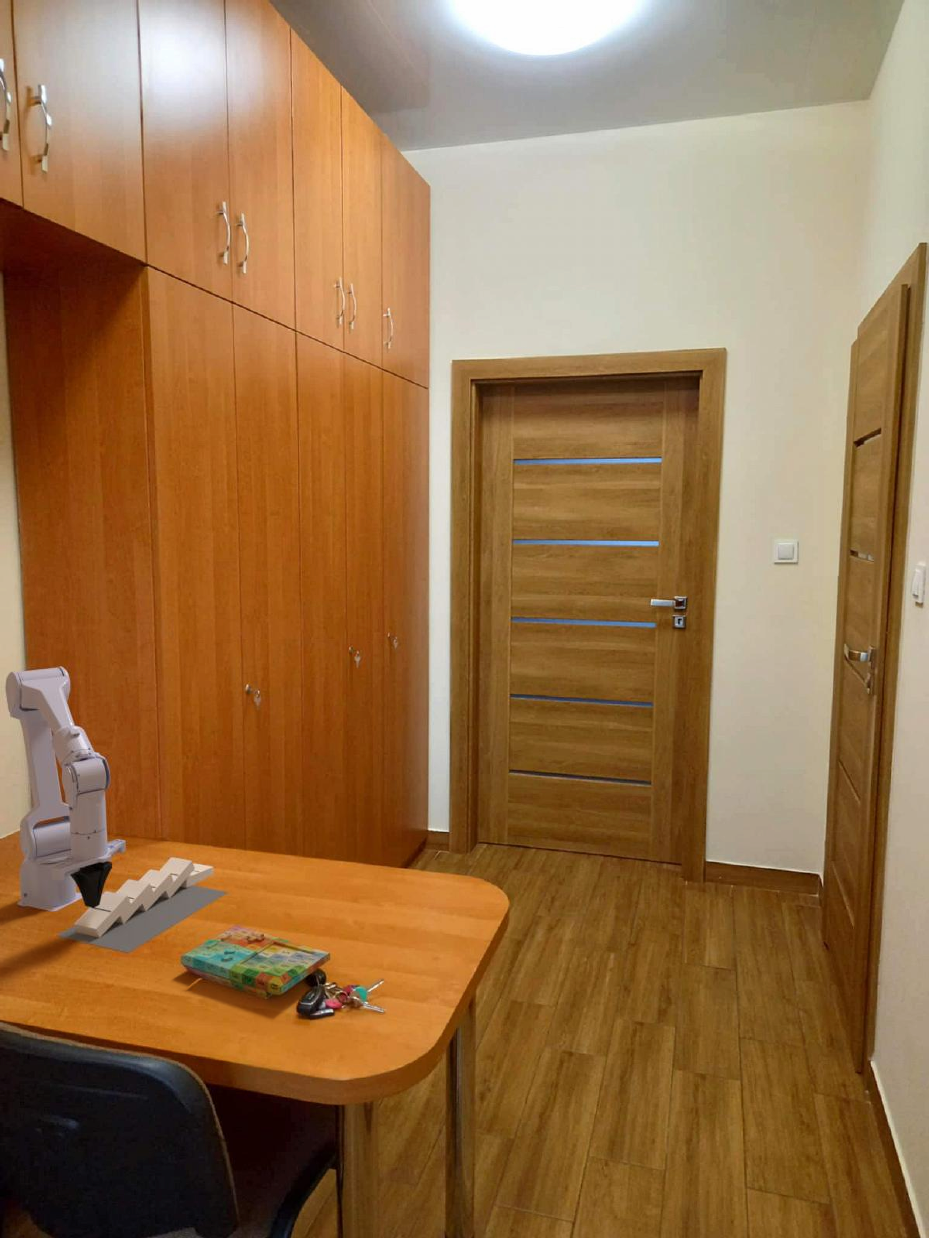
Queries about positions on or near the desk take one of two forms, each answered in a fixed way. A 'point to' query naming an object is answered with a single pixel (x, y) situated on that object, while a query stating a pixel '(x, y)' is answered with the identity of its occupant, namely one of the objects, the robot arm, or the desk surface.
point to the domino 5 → (198, 875)
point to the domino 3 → (155, 886)
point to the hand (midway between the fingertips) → (92, 905)
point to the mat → (150, 920)
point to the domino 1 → (102, 914)
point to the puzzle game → (253, 961)
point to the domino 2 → (133, 897)
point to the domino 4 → (176, 873)
